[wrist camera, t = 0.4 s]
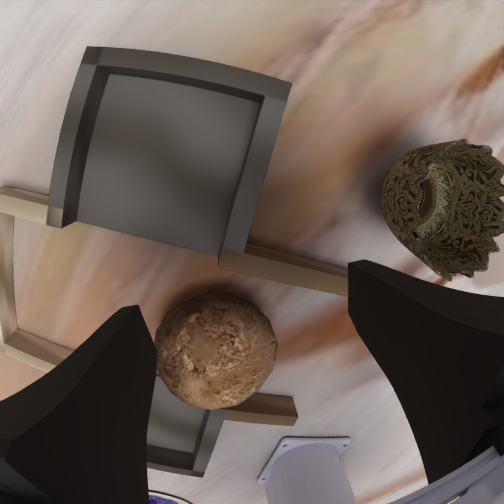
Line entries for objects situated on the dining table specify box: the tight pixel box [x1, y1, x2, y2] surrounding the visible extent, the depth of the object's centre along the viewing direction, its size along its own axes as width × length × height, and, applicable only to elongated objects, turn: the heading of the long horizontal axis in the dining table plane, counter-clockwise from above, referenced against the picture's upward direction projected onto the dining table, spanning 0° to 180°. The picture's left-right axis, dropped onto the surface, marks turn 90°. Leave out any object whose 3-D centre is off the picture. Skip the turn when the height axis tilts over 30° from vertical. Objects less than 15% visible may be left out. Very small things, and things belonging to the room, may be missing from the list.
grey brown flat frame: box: [0, 46, 348, 477], centre depth 19 cm, size 33×26×2 cm
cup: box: [380, 139, 504, 281], centre depth 16 cm, size 8×7×8 cm
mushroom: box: [154, 293, 278, 410], centre depth 19 cm, size 8×8×6 cm
